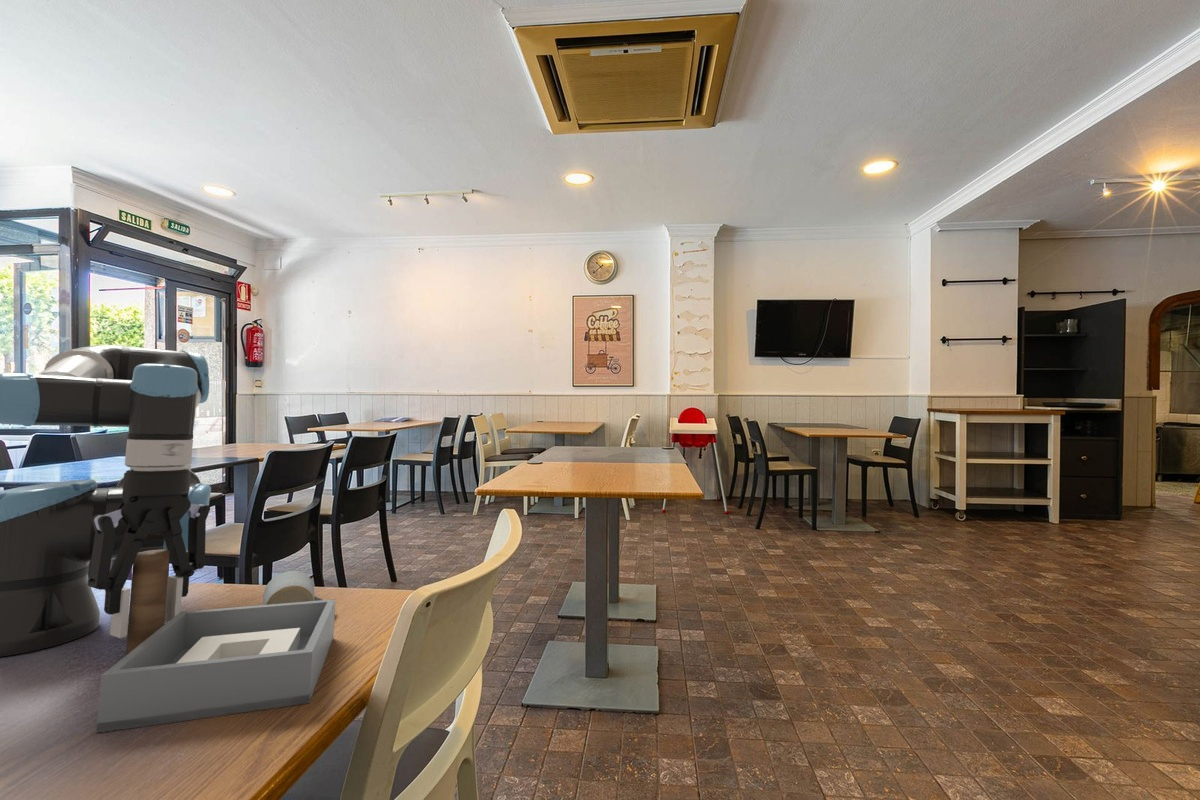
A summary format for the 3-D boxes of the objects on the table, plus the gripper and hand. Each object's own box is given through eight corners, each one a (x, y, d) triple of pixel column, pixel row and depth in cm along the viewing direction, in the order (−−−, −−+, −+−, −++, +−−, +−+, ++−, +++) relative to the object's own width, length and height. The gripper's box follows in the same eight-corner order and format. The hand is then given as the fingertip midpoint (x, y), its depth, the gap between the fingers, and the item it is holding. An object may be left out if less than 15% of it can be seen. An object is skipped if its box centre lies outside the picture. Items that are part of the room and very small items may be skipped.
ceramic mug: (261, 634, 80) (265, 585, 81) (261, 618, 87) (265, 572, 88) (336, 623, 86) (339, 577, 87) (330, 608, 93) (333, 566, 94)
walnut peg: (134, 646, 75) (142, 550, 76) (167, 643, 76) (174, 548, 77) (119, 658, 71) (128, 556, 72) (154, 654, 73) (162, 555, 74)
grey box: (177, 654, 73) (180, 611, 73) (333, 638, 80) (335, 599, 80) (96, 733, 54) (101, 675, 54) (309, 703, 61) (312, 651, 61)
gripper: (87, 473, 65) (71, 658, 64) (240, 466, 82) (230, 612, 81) (60, 470, 69) (44, 646, 67) (213, 464, 86) (203, 604, 84)
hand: (146, 627), depth 74 cm, fingers open, 6 cm apart
